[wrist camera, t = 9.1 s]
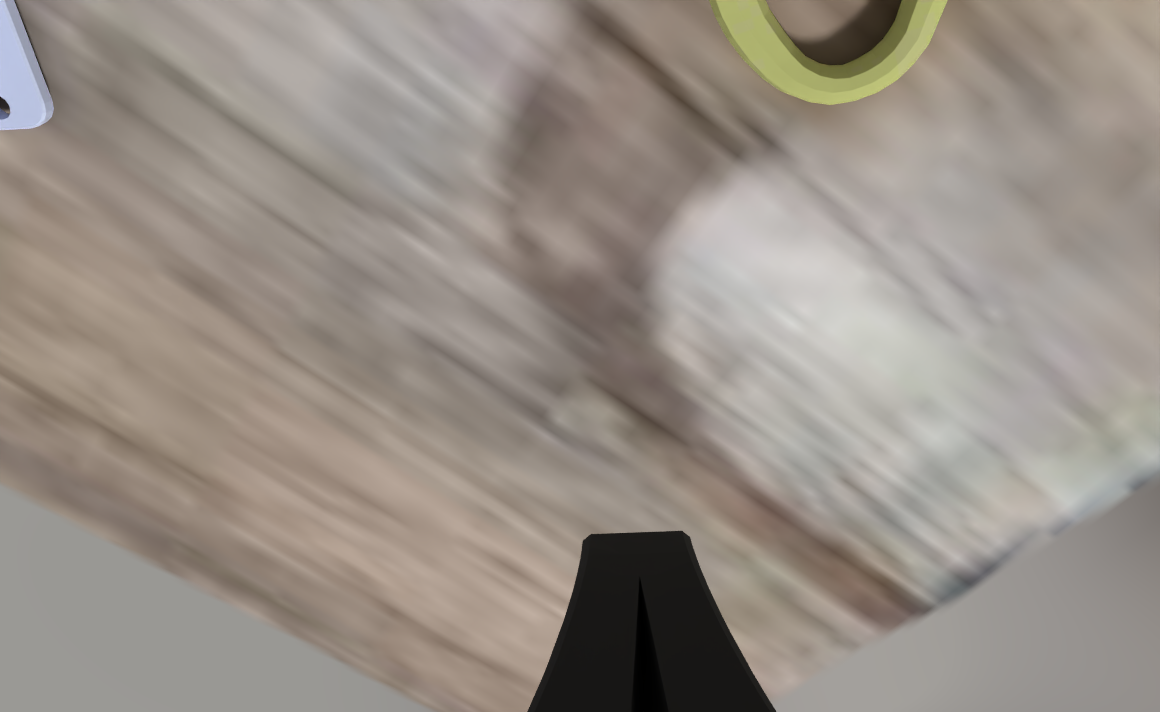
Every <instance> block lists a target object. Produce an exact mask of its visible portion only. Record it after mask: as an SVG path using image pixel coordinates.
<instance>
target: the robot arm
mask: <svg viewBox="0 0 1160 712" xmlns="http://www.w3.org/2000/svg"><path fill="white" fill-rule="evenodd" d="M0 97H2V98H3V99H5V100H6V102H7V103H8V105H9V106H10V111H11V113H10V114H9V113H6V112H4V111H3V110H1V109H0V130H12V129H30V128H34V127H38V126H40V125H42V124H44V123H46V122H47V121H48V120H49V119H50V118H51V117H52V114H53V110H54V107H53V102H52V98H51V96H50V93H49V90H48V88H47V85H46V83H45V80H44V77H43V75H42V72H41V70H40V67H39V64H38V62H37V59H36V56H35V54H34V51H33V49H32V46H31V43H30V41H29V38H28V36H27V33H26V30H25V28H24V25H23V23H22V20H21V17H20V15H19V12H18V9H17V7H16V4H15V2H14V0H0ZM528 712H776V710H775V709H774V707H773V706H772V704H771V702H770V701H769V699H768V698H767V696H766V694H765V693H764V691H763V689H762V688H761V686H760V684H759V683H758V681H757V679H756V678H755V676H754V674H753V672H752V671H751V669H750V667H749V665H748V663H747V662H746V660H745V658H744V656H743V654H742V653H741V651H740V649H739V647H738V645H737V643H736V642H735V640H734V638H733V636H732V634H731V633H730V631H729V629H728V627H727V625H726V623H725V621H724V619H723V617H722V615H721V613H720V611H719V609H718V607H717V604H716V602H715V600H714V598H713V596H712V594H711V592H710V590H709V587H708V585H707V583H706V580H705V578H704V576H703V573H702V571H701V568H700V566H699V563H698V560H697V558H696V555H695V552H694V549H693V546H692V543H691V539H690V537H689V536H688V535H687V534H685V533H684V532H683V531H666V532H638V533H611V534H591V535H589V536H588V537H587V538H586V539H585V540H583V544H582V552H581V559H580V564H579V568H578V573H577V577H576V581H575V585H574V589H573V592H572V596H571V599H570V602H569V606H568V609H567V612H566V615H565V618H564V621H563V624H562V627H561V630H560V632H559V635H558V638H557V641H556V643H555V646H554V649H553V651H552V654H551V657H550V660H549V662H548V665H547V668H546V670H545V673H544V675H543V677H542V680H541V682H540V684H539V687H538V689H537V691H536V693H535V696H534V698H533V700H532V702H531V705H530V707H529V709H528Z"/></svg>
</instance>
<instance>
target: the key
mask: <svg viewBox="0 0 1160 712" xmlns="http://www.w3.org/2000/svg"><path fill="white" fill-rule="evenodd" d="M709 1H710V4H711V7H712V9H713V12H714V15H715V17H716V19H717V21H718V23H719V25H720V27H721V28H722V30H723V32H724V34H725V36H726V38H727V39H728V40H729V42H730V43H731V44H732V46H733V47H734V48H735V50H736V51H737V52H738V54H739V55H740V56H741V57H742V59H743V60H744V61H745V62H746V63H747V64H748V65H749V66H750V67H751V68H752V69H753V70H754V71H755V72H756V73H757V74H758V75H759V76H760V77H761V78H762V79H764V80H765V81H767V82H768V83H770V84H771V85H772V86H774V87H775V88H777V89H778V90H780V91H782V92H784V93H787V94H789V95H792V96H795V97H797V98H800V99H803V100H805V101H808V102H814V103H821V104H828V105H833V104H839V103H845V102H850V101H855V100H858V99H861V98H863V97H866V96H869V95H872V94H875V93H877V92H879V91H880V90H882V89H883V88H885V87H887V86H888V85H890V84H891V83H893V82H895V81H896V80H897V79H898V78H900V77H901V76H902V75H903V74H904V73H905V72H906V71H907V70H908V69H909V68H910V67H911V66H912V65H913V64H914V63H915V61H916V60H917V59H918V57H919V56H920V55H921V54H922V52H923V51H924V50H925V48H926V47H927V46H928V44H929V43H930V40H931V38H932V36H933V33H934V31H935V28H936V26H937V24H938V21H939V19H940V17H941V14H942V12H943V10H944V7H945V5H946V3H947V0H902V1H901V4H900V7H899V10H898V13H897V15H896V18H895V21H894V23H893V25H892V26H891V28H890V29H889V31H888V32H887V34H886V35H885V37H884V38H883V39H882V40H881V41H880V42H879V43H878V44H877V45H876V46H875V47H874V48H873V49H872V50H871V51H869V52H867V53H866V54H864V55H862V56H861V57H859V58H858V59H855V60H853V61H851V62H848V63H846V64H843V65H825V64H820V63H818V62H816V61H814V60H812V59H810V58H808V57H806V56H805V55H804V54H803V53H802V52H801V51H800V50H799V49H798V48H797V47H796V46H795V45H794V43H793V42H792V41H791V39H790V38H789V37H788V36H787V34H786V33H785V32H784V30H783V29H782V28H781V26H780V25H779V23H778V21H777V20H776V18H775V17H774V15H773V14H772V12H771V11H770V9H769V7H768V5H767V3H766V0H709Z"/></svg>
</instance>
